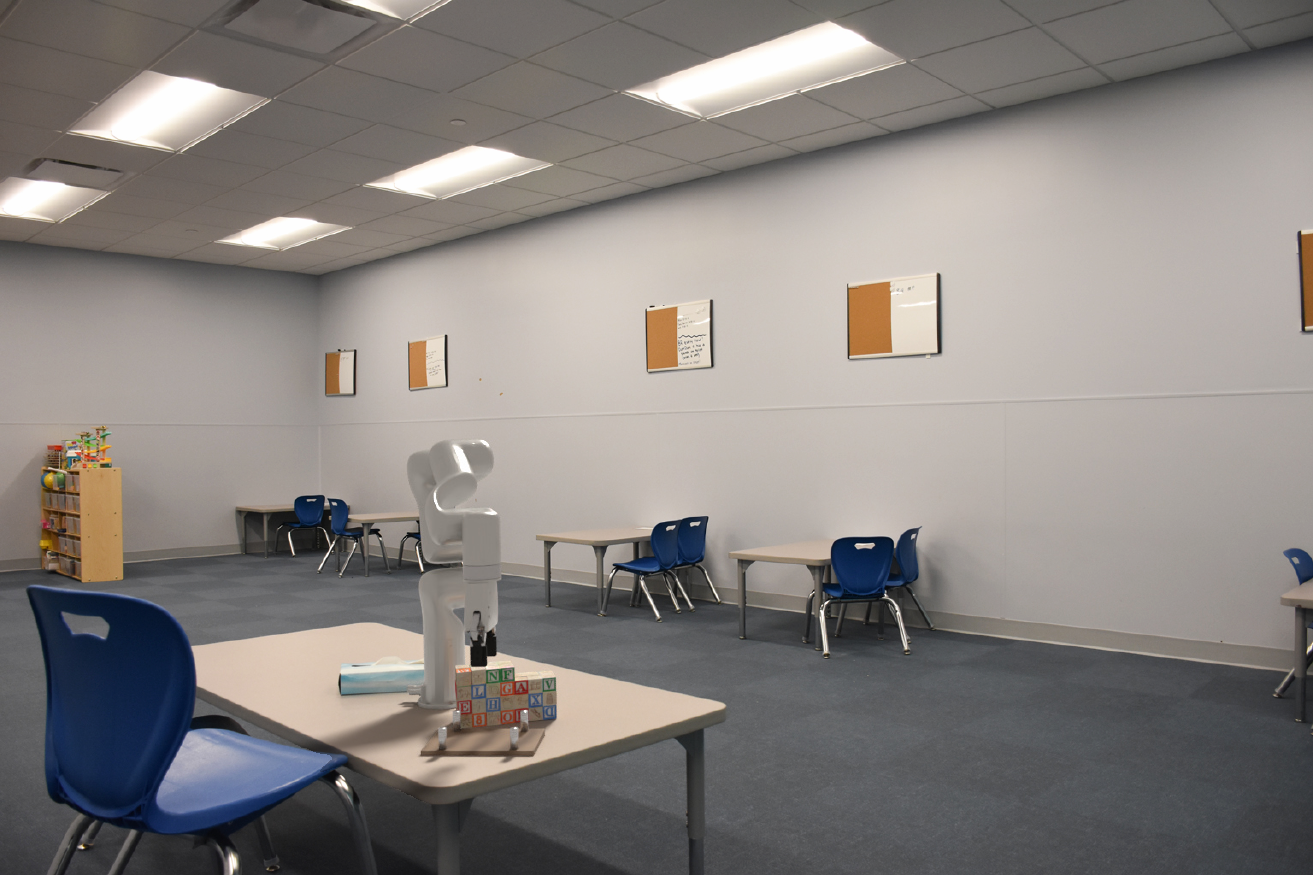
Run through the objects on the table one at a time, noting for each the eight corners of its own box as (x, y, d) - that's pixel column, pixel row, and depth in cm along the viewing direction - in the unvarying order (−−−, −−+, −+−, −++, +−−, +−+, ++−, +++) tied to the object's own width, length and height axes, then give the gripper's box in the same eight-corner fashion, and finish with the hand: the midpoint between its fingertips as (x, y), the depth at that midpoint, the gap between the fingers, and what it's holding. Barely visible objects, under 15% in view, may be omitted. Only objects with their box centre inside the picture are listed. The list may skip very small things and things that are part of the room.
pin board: (420, 758, 177) (420, 730, 177) (439, 735, 190) (438, 709, 190) (534, 758, 176) (533, 730, 176) (544, 735, 189) (544, 709, 189)
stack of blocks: (552, 711, 207) (551, 656, 206) (557, 719, 201) (556, 663, 200) (455, 720, 201) (454, 664, 201) (457, 729, 195) (456, 671, 195)
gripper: (473, 567, 192) (475, 651, 192) (451, 579, 174) (453, 672, 174) (509, 566, 191) (511, 651, 191) (491, 579, 174) (493, 672, 174)
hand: (484, 660), depth 183 cm, fingers open, 7 cm apart
